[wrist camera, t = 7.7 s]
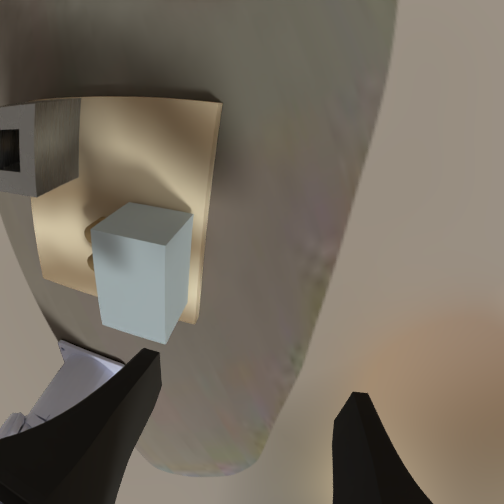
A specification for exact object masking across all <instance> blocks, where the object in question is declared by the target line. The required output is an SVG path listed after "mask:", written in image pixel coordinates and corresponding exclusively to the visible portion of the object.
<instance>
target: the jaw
mask: <svg viewBox="0 0 504 504" xmlns="http://www.w3.org/2000/svg"><path fill="white" fill-rule="evenodd" d="M80 109H81V98H68V99H52V100H40V101H30V102H23V103H17V104H11V105H6V106H1V107H0V191H3V192H9V193H14V194H20V195H25V196H31V197H36V198H37V197H39V196H41V195H43V194H45V193H47V192H49V191H51V190H53V189H55V188H57V187H59V186H61V185H63V184H65V183H67V182H70V181H72V180H74V179H76V178H78V177H79V127H80Z"/></svg>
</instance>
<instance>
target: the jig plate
mask: <svg viewBox="0 0 504 504" xmlns="http://www.w3.org/2000/svg"><path fill="white" fill-rule="evenodd" d="M68 98H81V109H80V127H79V177H78V178H76V179H74V180H72V181H70V182H67V183H65V184H63V185H61V186H59V187H57V188H55V189H53V190H51V191H49V192H47V193H45V194H43V195H41V196H39V197H37V198H36V197H31V204H32V213H33V221H34V228H35V235H36V242H37V248H38V253H39V259H40V264H41V269H42V274H43V278H45V279H47V280H50V281H53V282H56V283H58V284H61V285H64V286H67V287H70V288H73V289H76V290H79V291H82V292H85V293H88V294H91V295H94V296H97V297H98V294H97V287H96V279H95V271H94V263H93V253H92V242H91V230H90V229H91V228H93V227H94V226H95V225H97V224H98V223H100V222H101V221H102V220H104V219H105V218H107V217H108V216H109V215H111V214H112V213H114V212H115V211H117V210H118V209H120V208H121V207H122V206H124V205H125V204H127V203H128V202H132V203H138V204H143V205H149V206H154V207H160V208H165V209H170V210H176V211H181V212H186V213H192V214H194V216H193V228H192V240H191V254H190V268H189V285H188V302H187V304H186V306H185V308H184V310H183V312H182V314H181V316H180V318H179V321H183V322H187V323H191V324H195V323H196V321H197V319H198V316H199V308H200V295H201V283H202V272H203V261H204V250H205V240H206V230H207V221H208V212H209V203H210V194H211V186H212V177H213V169H214V162H215V154H216V146H217V139H218V132H219V125H220V118H221V111H222V105H223V103H218V102H209V101H199V100H188V99H175V98H159V97H134V96H91V97H66V98H51V99H39V100H32V101H40V100H52V99H68ZM29 102H30V101H29Z"/></svg>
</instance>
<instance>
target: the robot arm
mask: <svg viewBox="0 0 504 504" xmlns="http://www.w3.org/2000/svg"><path fill="white" fill-rule="evenodd" d="M58 345H59V348H60V351H61V354H62V356H63V359H64V362H65V363H64V365H63V366H62V367H61V368H60V370H59V371H58V373H57V374H56V375H55V377H54V378H53V380H52V381H51V382H50V384H49V385H48V387H47V388H46V389H45V391H44V392H43V394H42V395H41V397H40V398H39V399H38V401H37V402H36V404H35V405H34V407H33V408H32V410H31V411H30V413H29V414H28V415H26V416H24V415H23V414H22V413H21V412H20V413H12V414H11V415H10V416H9V417H8V419H7V420H6V421H5V422H4V424H3V425H2V427H1V428H0V504H115V500H116V497H117V493H118V490H119V487H120V484H121V481H122V478H123V475H124V472H125V469H126V466H127V463H128V460H129V458H130V456H131V453H132V451H133V449H134V447H135V445H136V443H137V441H138V439H139V437H140V435H141V433H142V431H143V429H144V427H145V425H146V423H147V421H148V419H149V417H150V415H151V413H152V411H153V409H154V406H155V404H156V401H157V398H158V395H159V392H160V389H161V386H162V381H161V368H160V353H159V352H156V351H153V350H149V349H146V348H143V349H142V350H141V351H140V352H139V353H138V354H136V355H135V356H134V357H133V358H132V359H131V360H130V361H129V362H128V363H127V364H126V365H124V364H122V363H119V362H116V361H114V360H111V359H108V358H106V357H103V356H100V355H98V354H95V353H93V352H90V351H87V350H85V349H83V348H80V347H78V346H75V345H73V344H70V343H68V342H66V341H63V340H59V342H58ZM332 457H333V504H433V503H432V502H431V501H430V499H429V498H428V497H427V496H426V495H425V494H424V493H423V491H422V490H421V489H420V487H419V486H418V485H417V484H416V482H415V481H414V479H413V478H412V476H411V475H410V473H409V472H408V470H407V469H406V467H405V466H404V464H403V462H402V461H401V459H400V457H399V455H398V454H397V452H396V450H395V448H394V447H393V444H392V442H391V441H390V438H389V437H388V435H387V433H386V431H385V429H384V427H383V425H382V422H381V420H380V418H379V416H378V414H377V412H376V410H375V408H374V405H373V403H372V401H371V399H370V397H369V395H368V393H360V392H352V394H351V396H350V397H349V399H348V400H347V402H346V404H345V405H344V407H343V408H342V409H341V411H340V413H339V414H338V415H337V417H336V418H335V420H334V429H333V440H332Z"/></svg>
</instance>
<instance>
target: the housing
mask: <svg viewBox="0 0 504 504" xmlns="http://www.w3.org/2000/svg"><path fill="white" fill-rule="evenodd" d="M193 216H194V214H192V213H186V212H181V211H176V210H170V209H165V208H160V207H154V206H149V205H143V204H138V203H132V202H128V203H127V204H125V205H124V206H122V207H121V208H120V209H118V210H117V211H115V212H114V213H112V214H111V215H109V216H108V217H107V218H105V219H104V220H102V221H101V222H100V223H98V224H97V225H95V226H94V227H93V228H91V229H90V230H91V242H92V253H93V263H94V271H95V279H96V287H97V294H98V301H99V307H100V313H101V319H102V324H103V325H105V326H108V327H111V328H114V329H117V330H120V331H123V332H126V333H129V334H133V335H136V336H139V337H142V338H145V339H149V340H152V341H155V342H159V343H162V344H166V343H167V341H168V339H169V337H170V335H171V333H172V331H173V329H174V327H175V325H176V323H177V321H178V320H179V318H180V316H181V314H182V312H183V310H184V308H185V306H186V304H187V302H188V285H189V268H190V254H191V240H192V228H193Z"/></svg>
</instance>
